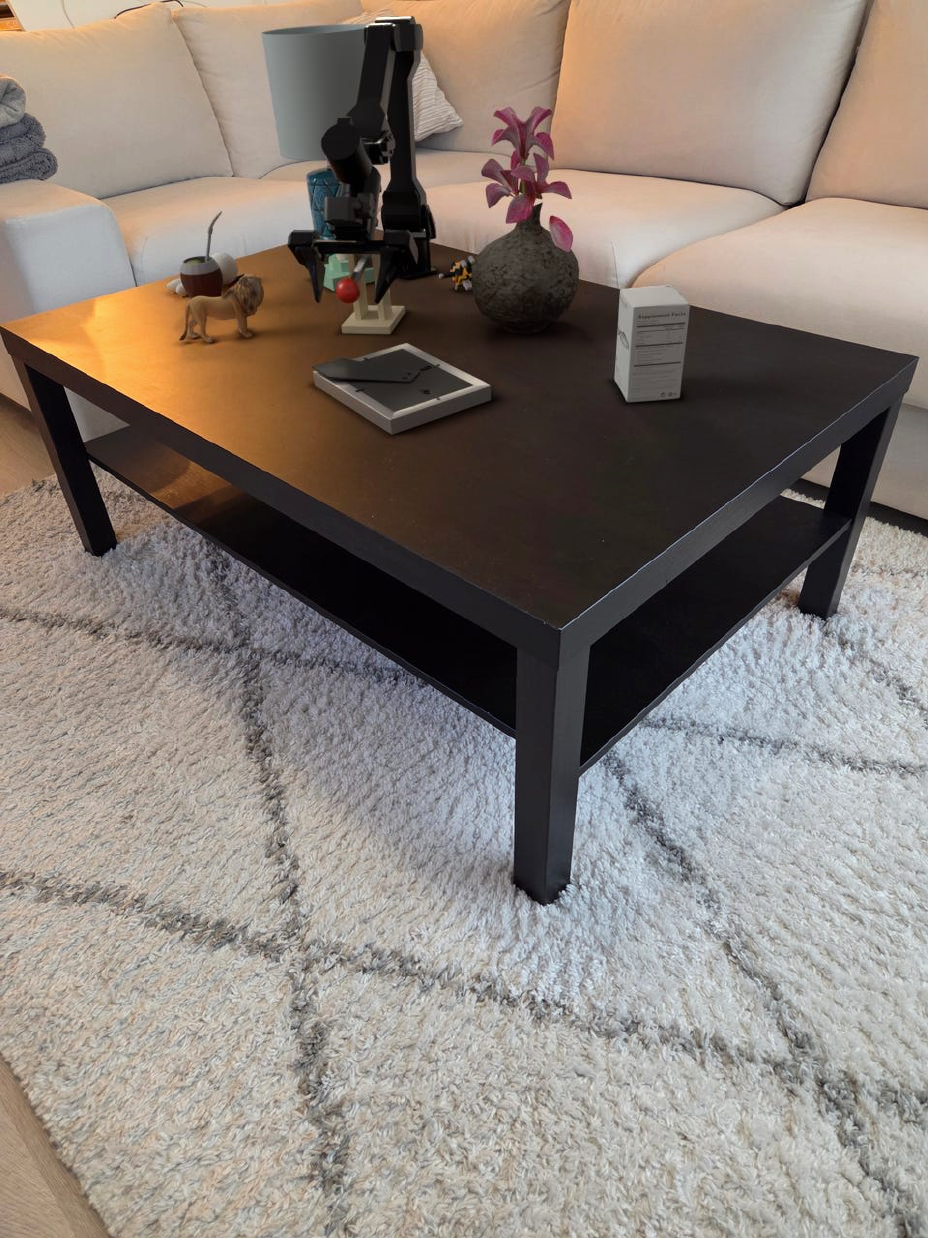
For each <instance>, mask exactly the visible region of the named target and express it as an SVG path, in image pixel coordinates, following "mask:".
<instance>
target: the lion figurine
mask: <svg viewBox="0 0 928 1238" xmlns="http://www.w3.org/2000/svg"><path fill="white" fill-rule="evenodd" d="M244 274H245V275H244V276H242V278H240V279H239V281H238V282H236V283H237V284H235V285H232V286H231V287H230V288H228V289H227V291H226V292H225V293H223V294H222V296H220V297H206V296H197V297H193V298H192V299H191V298H190V299H189V300H188V301H187V303H186V305H185V309H184V330H183V333H182V335H181V336H180V337H179V339H178V341H181V342H182V341H184V340H186V338H187V336H189V337H190V338H193V339H195V338H198V337H199V335H200V336H201V337H202V338H203V339H204V341H205V342H206V343H214V341H215V339H214V337H213V336H209V335H208V334H207V332H206V328H207V327H206V326H207V321H208V320H207V317H210V318H212V319H214V320H218V321H230V320H233V319H235V320H236V323H237V329H238V331H239V333H241V334H242V335H243V337H245V338H247V339H250V338H252V337H253V334H252V332H249V329H248V319H247V318H248V317H251V316H254V315H256V313H257V312H258V309H259V307H260V306H261V304H262V303H263V301H264V297H265V290H264V287H263V285H262V279H261V276H257V275H256V274H253V273H244ZM190 311H191V318H190ZM189 320H190V321H189ZM196 326H198V333H197V332H195V331H194V330H195V327H196Z"/></svg>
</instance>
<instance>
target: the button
mask: <svg viewBox="0 0 928 1238" xmlns="http://www.w3.org/2000/svg"><path fill="white" fill-rule="evenodd" d="M336 257H337V260H348V257H347V254H336Z"/></svg>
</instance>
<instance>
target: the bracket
mask: <svg viewBox="0 0 928 1238" xmlns="http://www.w3.org/2000/svg"><path fill="white" fill-rule="evenodd" d="M347 257H348V265H349V273H350V277H351V275H352V273H353V271H354V269H355V268H356V266H357V264H358V256H357V254H347ZM372 260H373V269H374V278H375V281H374V287H375V288H376V283H377V277H378V272H379V267H380V255H372ZM358 284H359V286H360V291H361V292H360V297H359V298H358V300H357V301H356V302H354V303H352V304H353V312H352V313H351V314H350V315H349V316H348V317H347V318H346V320H345V321H344V322H343V324H341V326H340V327H341V333H342V334H357V335H358V334H359V335H361V334H362V335H365V334H366V335H391V334H392V333H393V331H394V329H395V328H396V327H397V325H398V324H399V322H400V321H401V320H402V319H403V317H404V315H405V314H406V306H405V305H392V301H391V300H392V299H391V290H390V289H391V287H389V289H388V290H387V292H386V293H385V295H384V296H383V298H382V300H381V301H380V303H379V304H373V305H371V304H370V305H369V302H368V294H367V285H366V284H367V283H366V284H365V276H364V273H363V275H362V277H361V279H360V280H359V282H358Z"/></svg>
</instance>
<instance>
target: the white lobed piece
mask: <svg viewBox="0 0 928 1238" xmlns="http://www.w3.org/2000/svg"><path fill="white" fill-rule="evenodd" d="M210 257H212V258H213V259H214V260H215V261H216V262H217V263H218V265H219V267H220V269H221V271H222V275H223V285H230V284H231V285H230V286H234V285H235V284H237V282H238V281H239V279H240V278H242V276H244V275H245V274H246V273H242V274H239V275H238V273H239V268H238V263H237V262H236V260H235V259H234V257H233V256H232V255H230V254H229V253H226V252H223V251H222V252H221V251H220V252H216V253H214V254H212V255H211V256H210ZM166 289H167V290H168V291H170V292H171V293H176V294H177V295H178V296H183V297H184V296H188V294H187V293H186V291H185V289H184V287H183V285H182V283H181V279H180V277H179V278H175V279H173V280H171V281H168V283H167V284H166Z"/></svg>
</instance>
